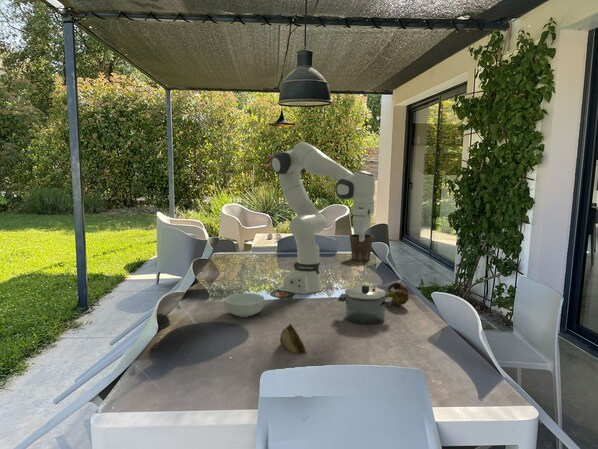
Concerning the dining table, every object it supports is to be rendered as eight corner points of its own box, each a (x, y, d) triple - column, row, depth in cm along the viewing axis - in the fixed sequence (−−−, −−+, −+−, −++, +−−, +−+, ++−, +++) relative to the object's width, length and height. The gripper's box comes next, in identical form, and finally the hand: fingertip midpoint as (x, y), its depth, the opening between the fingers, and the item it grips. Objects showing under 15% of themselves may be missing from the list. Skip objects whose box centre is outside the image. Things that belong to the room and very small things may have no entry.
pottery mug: (412, 301, 210) (405, 287, 207) (393, 309, 211) (386, 295, 209) (406, 288, 221) (400, 275, 218) (389, 295, 222) (382, 282, 220)
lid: (341, 297, 179) (341, 289, 178) (349, 287, 195) (349, 280, 194) (383, 301, 173) (383, 292, 173) (388, 290, 190) (388, 282, 189)
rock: (272, 337, 159) (274, 344, 149) (286, 317, 160) (289, 323, 150) (296, 354, 160) (300, 362, 150) (310, 334, 161) (315, 341, 151)
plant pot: (374, 262, 292) (375, 237, 290) (350, 262, 292) (350, 237, 290) (371, 257, 308) (371, 234, 306) (347, 257, 309) (348, 234, 306)
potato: (399, 300, 209) (400, 284, 208) (411, 309, 196) (411, 291, 195) (382, 301, 207) (383, 284, 206) (393, 310, 195) (393, 292, 194)
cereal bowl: (232, 323, 180) (231, 306, 179) (219, 311, 194) (219, 296, 194) (270, 316, 188) (270, 300, 187) (256, 306, 202) (255, 290, 201)
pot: (335, 321, 181) (335, 298, 180) (344, 308, 197) (344, 287, 196) (388, 327, 174) (389, 303, 173) (393, 313, 191) (393, 291, 190)
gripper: (360, 206, 201) (359, 236, 203) (351, 211, 182) (349, 244, 184) (374, 207, 199) (372, 237, 201) (366, 212, 180) (364, 246, 182)
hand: (361, 241), depth 193 cm, fingers closed
